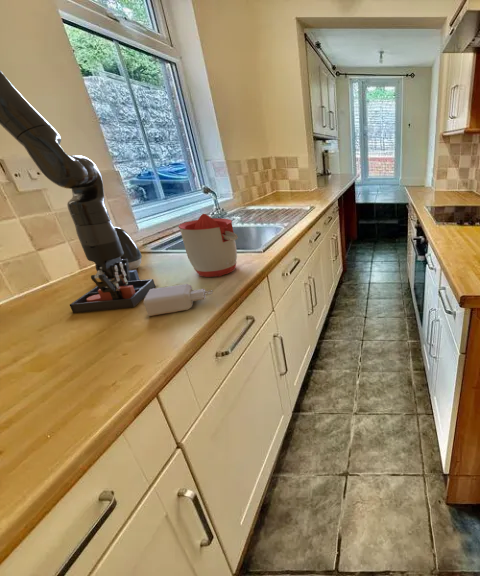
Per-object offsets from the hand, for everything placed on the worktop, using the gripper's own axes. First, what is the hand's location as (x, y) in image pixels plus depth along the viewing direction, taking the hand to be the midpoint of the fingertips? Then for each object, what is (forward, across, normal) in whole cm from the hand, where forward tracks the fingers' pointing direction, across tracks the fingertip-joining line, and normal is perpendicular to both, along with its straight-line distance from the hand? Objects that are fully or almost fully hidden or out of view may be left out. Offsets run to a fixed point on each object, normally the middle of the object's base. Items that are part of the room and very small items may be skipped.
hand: (122, 300), depth 88 cm
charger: (+1, +6, +17) cm, 18 cm away
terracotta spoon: (0, 0, -2) cm, 3 cm away
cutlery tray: (+1, -4, -3) cm, 5 cm away
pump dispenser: (+1, -30, -12) cm, 33 cm away
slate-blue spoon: (+1, -16, -8) cm, 18 cm away
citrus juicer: (+1, -20, +20) cm, 28 cm away
